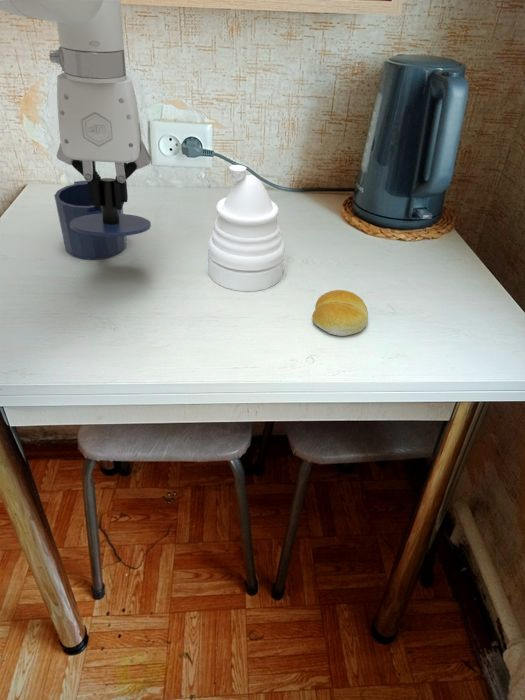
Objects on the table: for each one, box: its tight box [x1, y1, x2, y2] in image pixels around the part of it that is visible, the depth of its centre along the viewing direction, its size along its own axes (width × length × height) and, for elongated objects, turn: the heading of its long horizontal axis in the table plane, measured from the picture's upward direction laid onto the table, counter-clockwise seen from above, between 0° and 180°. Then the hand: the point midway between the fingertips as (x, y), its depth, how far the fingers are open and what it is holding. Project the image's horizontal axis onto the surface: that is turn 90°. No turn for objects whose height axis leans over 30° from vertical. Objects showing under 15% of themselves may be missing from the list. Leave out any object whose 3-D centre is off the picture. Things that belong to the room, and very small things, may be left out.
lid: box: [70, 177, 152, 237], centre depth 75 cm, size 12×12×7 cm
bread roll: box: [311, 289, 369, 337], centre depth 77 cm, size 8×9×4 cm
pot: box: [53, 180, 128, 261], centre depth 89 cm, size 11×16×10 cm, turn 25°
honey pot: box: [207, 164, 285, 292], centre depth 82 cm, size 13×13×18 cm
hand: (109, 204), depth 75 cm, fingers closed on lid, 2 cm apart
